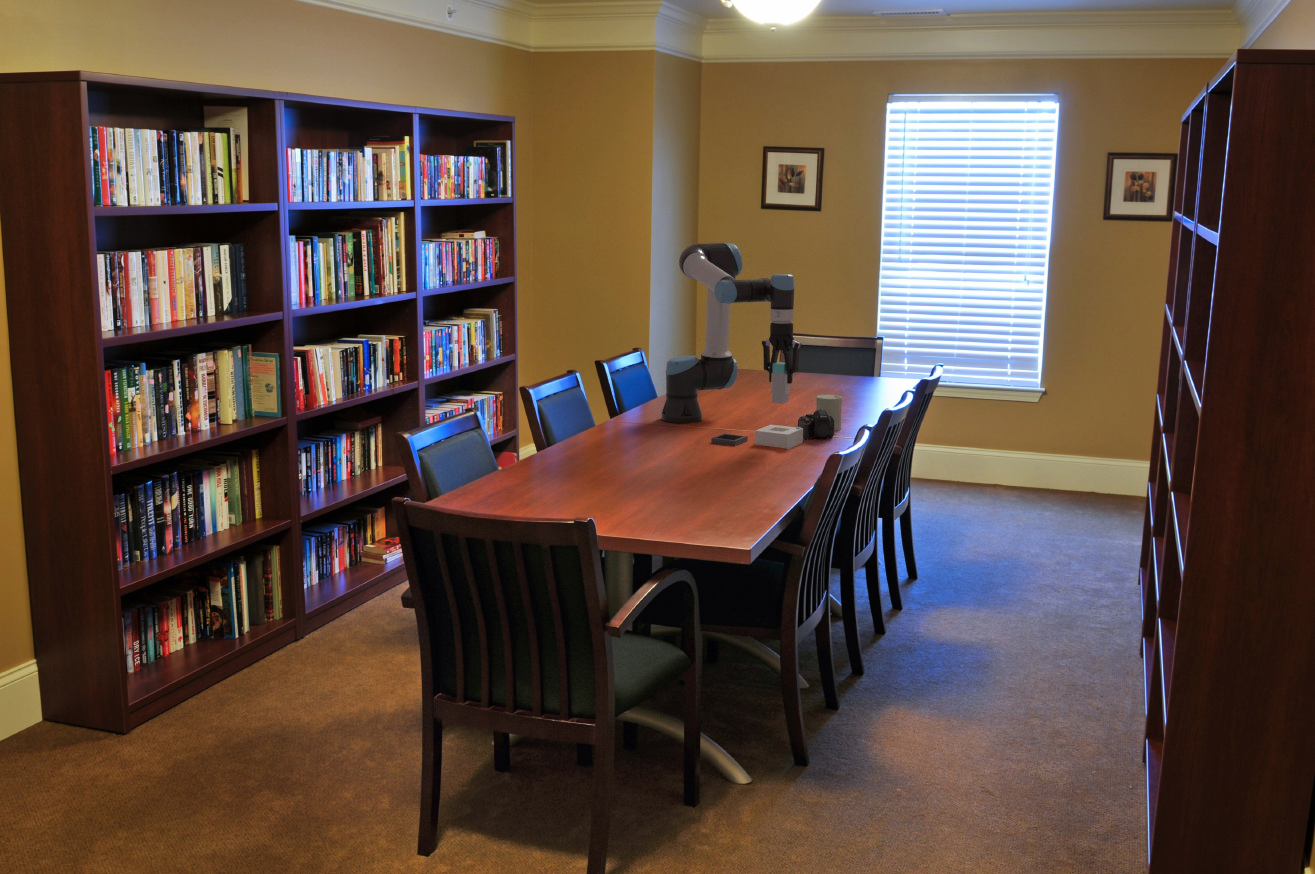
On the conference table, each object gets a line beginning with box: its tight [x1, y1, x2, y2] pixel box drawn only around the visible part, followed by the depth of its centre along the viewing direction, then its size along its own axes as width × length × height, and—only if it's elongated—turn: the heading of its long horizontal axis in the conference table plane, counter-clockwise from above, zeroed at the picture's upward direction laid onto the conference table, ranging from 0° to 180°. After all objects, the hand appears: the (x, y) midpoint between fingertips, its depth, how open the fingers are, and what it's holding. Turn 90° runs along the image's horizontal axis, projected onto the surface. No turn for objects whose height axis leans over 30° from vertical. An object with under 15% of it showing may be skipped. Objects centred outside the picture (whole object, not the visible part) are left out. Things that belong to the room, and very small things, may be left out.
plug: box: [771, 361, 789, 404], centre depth 365 cm, size 4×4×13 cm
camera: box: [797, 409, 835, 441], centre depth 379 cm, size 13×10×10 cm
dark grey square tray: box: [710, 433, 749, 447], centre depth 371 cm, size 9×9×2 cm
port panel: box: [754, 424, 804, 450], centre depth 369 cm, size 12×12×5 cm
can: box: [815, 394, 843, 432], centre depth 394 cm, size 9×9×12 cm
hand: (780, 392), depth 365 cm, fingers closed on plug, 4 cm apart
